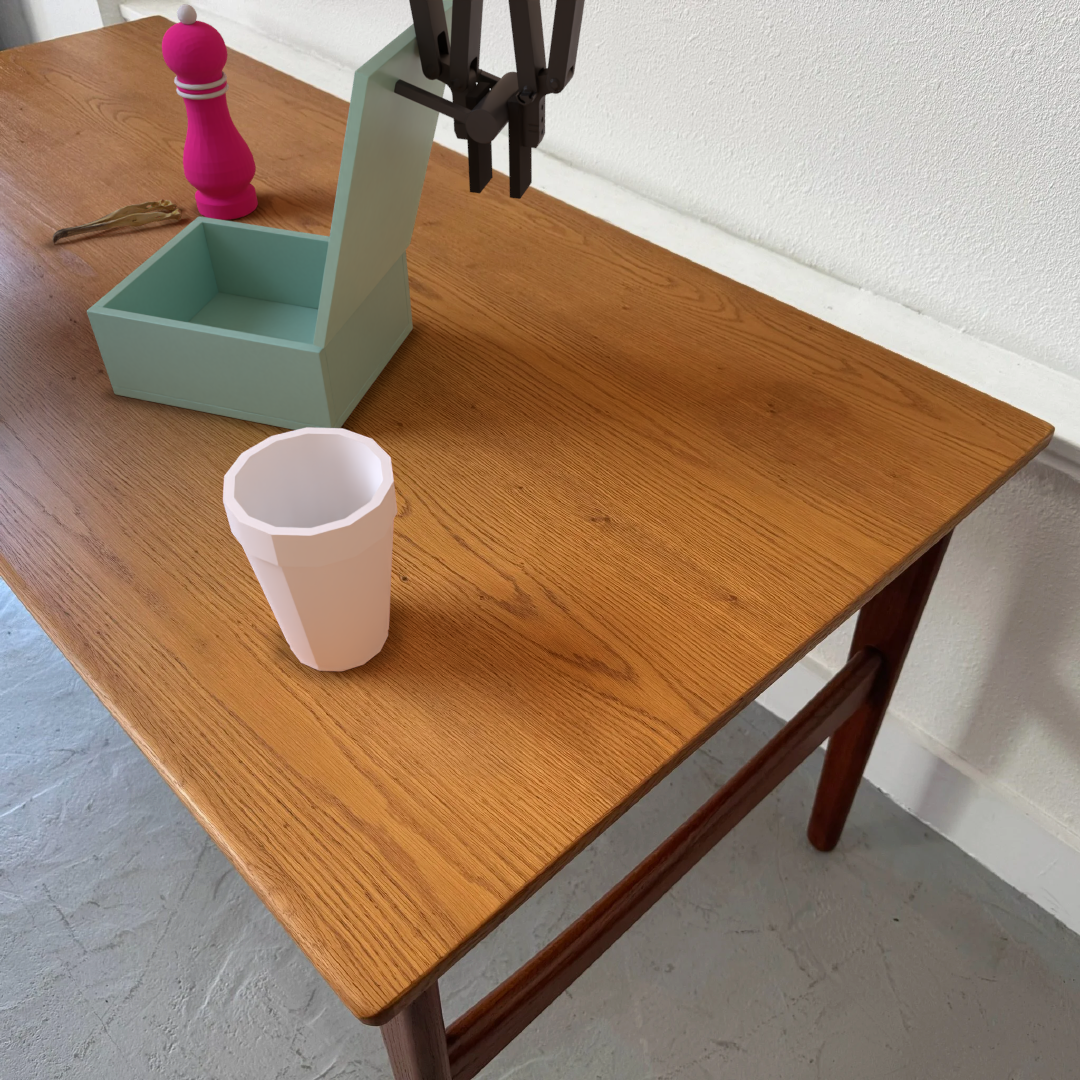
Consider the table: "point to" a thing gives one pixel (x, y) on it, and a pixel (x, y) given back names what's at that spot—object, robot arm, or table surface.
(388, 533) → the foam cup
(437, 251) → the table surface
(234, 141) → the pepper mill
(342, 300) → the freezer lid
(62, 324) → the table surface
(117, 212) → the tongs
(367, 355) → the box
